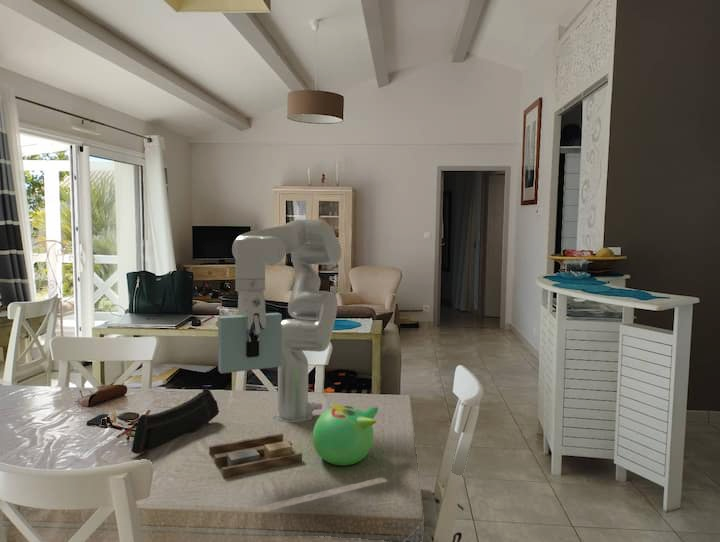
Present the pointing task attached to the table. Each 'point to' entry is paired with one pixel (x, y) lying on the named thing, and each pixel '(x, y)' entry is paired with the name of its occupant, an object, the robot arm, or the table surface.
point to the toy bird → (344, 434)
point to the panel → (234, 344)
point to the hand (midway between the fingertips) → (250, 354)
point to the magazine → (174, 422)
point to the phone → (97, 420)
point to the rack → (220, 460)
